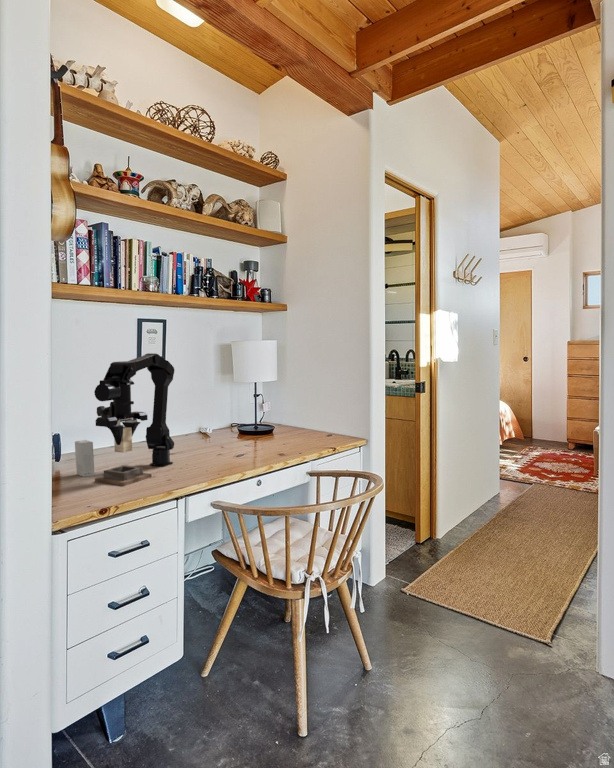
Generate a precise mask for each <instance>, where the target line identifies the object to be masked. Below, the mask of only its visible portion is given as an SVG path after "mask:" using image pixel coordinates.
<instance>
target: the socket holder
mask: <svg viewBox="0 0 614 768" xmlns="http://www.w3.org/2000/svg"><path fill="white" fill-rule="evenodd" d="M152 476H153V475H152V473H148V472H144V468H143V467H142V466H141V467H140V466H132V465H126V464H125V465H124V464H123V465H119V466H115V467H113V468H108V469H105V470H103V475H102V476H100V477H96V478H94V483H95V482H96V483H102V484H110V485H116V486H123V487H126V486H128V485H131V484H134V483H137V482H139V481H143V480H147V479H149V478H152Z"/></svg>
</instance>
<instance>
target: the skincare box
mask: <svg viewBox="0 0 614 768" xmlns="http://www.w3.org/2000/svg"><path fill="white" fill-rule="evenodd" d="M74 450H75V451H74V453H75V467H76V469H75V470H76V475H78V476H81V477H83V478H86V477H92V476H95V474H96V473H95V460H94V459H95V458H94V457H95V456H94V442H93V441H92V440H91V441H90V440H87V439H83V440H77V441H74Z"/></svg>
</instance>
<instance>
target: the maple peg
mask: <svg viewBox="0 0 614 768" xmlns="http://www.w3.org/2000/svg"><path fill="white" fill-rule="evenodd" d="M113 441H114V452H115V453H127V452H132V451H133V436H132V428H131V427H124V426H123V432H122V438H121V443H120V445H117V444H116V441H115V439H114V438H113Z"/></svg>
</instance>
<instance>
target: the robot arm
mask: <svg viewBox="0 0 614 768" xmlns="http://www.w3.org/2000/svg"><path fill="white" fill-rule="evenodd" d="M143 369H146V370H147V371H148V372H150V379H151V380H152V382H153V385H154V395H153V407H152V422H151V424H150V425H149V426H147V427H146V429H145V430H146V434H145V440H146V444H147V448H148V450H152V454H151V460H152V462H151V463H149V466H155V467H165V466H168V465H171V464H174V461H171V460H170V459H171V458H170V453H171V451H170V450H173V449H174V448H175V442H174V440H173V439H172V437H171V436H170V429H169V427H168V425H167V410H168V409H167V407H168V397H169V396H168V393H169V386H170V384H171V383H172V382H173V380H174V376H175V375H174V374H175V367H174V365H172V363H171V362H170V361H169V360H166V359H165V358H163V357H162V356H161V355H160V354H158V353H156V352H155V353H152V352H151V353H150V352H149V353H146V354H144V355H142V356H141V355H140V356H139V357H135V358H132V359H130V360H126V361H121V360H120V361H113V362H111V363H110V364H109V367H108V369H107V371H106V373H105V376H104V377H103V380H99V384H97V385H96V386H95V389H94V397H95V398H96V400H98V401H99V402H109V401H110V402H109V406H107V407H105V406H104V405H100V406H97V407H96V414H97V415H96V416H98V417H96V419H95V427H104V428H107V429H109V430H110V432H111V434H112V436H113V440H114V439H115V441H116V444H117V445H120V443H121V438H122V432H123V427H131V428H132V437H133V436H134V433H135V432H136V430H137V429H138V428H137V427H138V426H139V425H140V424H141V422H144V421H148V413H147V412H146V411H132V405H135V402H134V401H133V400H132V389H131V388H132V386H131V385H135V382H134V381H133V380H132V378H133V377H134V376H136V374H137V372H139V371H140V370H143ZM138 420H140V421H141V422H140V421H138Z"/></svg>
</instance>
